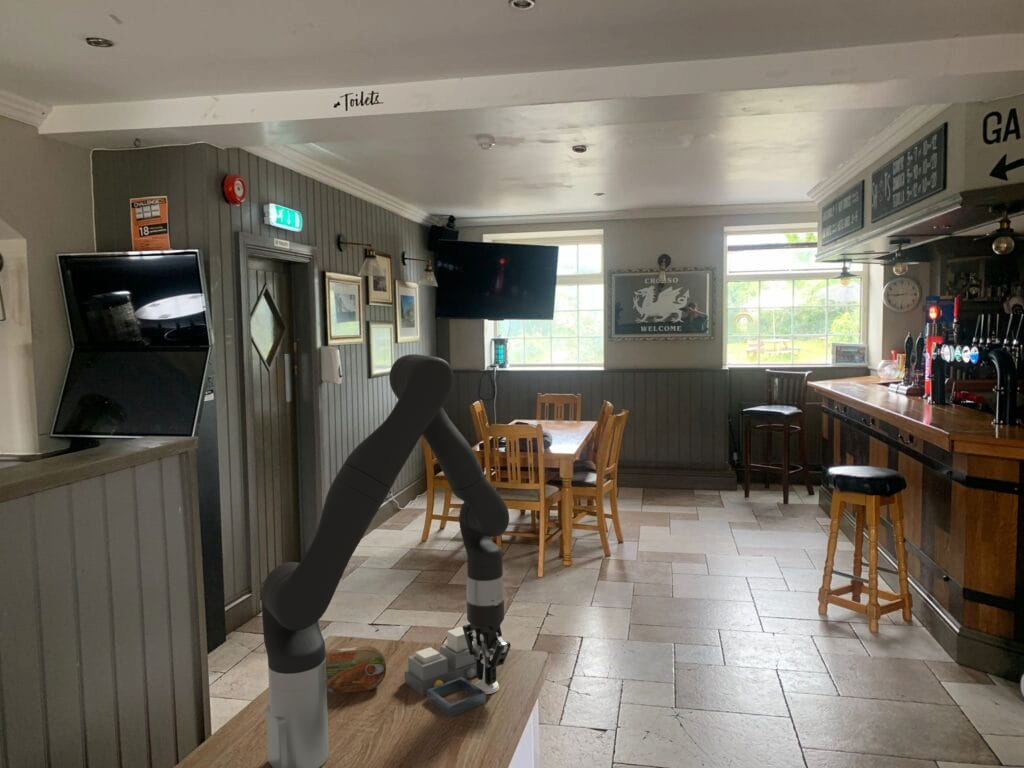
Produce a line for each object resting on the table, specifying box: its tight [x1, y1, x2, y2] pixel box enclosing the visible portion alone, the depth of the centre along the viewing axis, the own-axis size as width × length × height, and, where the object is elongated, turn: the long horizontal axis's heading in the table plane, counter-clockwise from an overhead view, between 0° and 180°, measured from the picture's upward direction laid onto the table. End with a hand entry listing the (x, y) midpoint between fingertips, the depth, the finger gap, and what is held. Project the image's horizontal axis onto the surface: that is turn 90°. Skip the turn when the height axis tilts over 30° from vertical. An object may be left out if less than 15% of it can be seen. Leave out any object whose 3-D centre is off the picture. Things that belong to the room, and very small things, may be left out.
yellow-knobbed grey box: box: [403, 643, 477, 697], centre depth 148 cm, size 14×8×6 cm, turn 128°
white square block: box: [414, 646, 440, 664], centre depth 146 cm, size 4×4×3 cm
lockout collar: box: [426, 677, 487, 718], centre depth 139 cm, size 8×8×2 cm
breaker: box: [446, 626, 468, 652], centre depth 150 cm, size 4×4×3 cm
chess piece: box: [474, 649, 500, 695], centre depth 143 cm, size 5×5×10 cm
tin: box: [325, 645, 387, 695], centre depth 144 cm, size 15×3×8 cm, turn 99°
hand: (486, 680), depth 143 cm, fingers closed on chess piece
